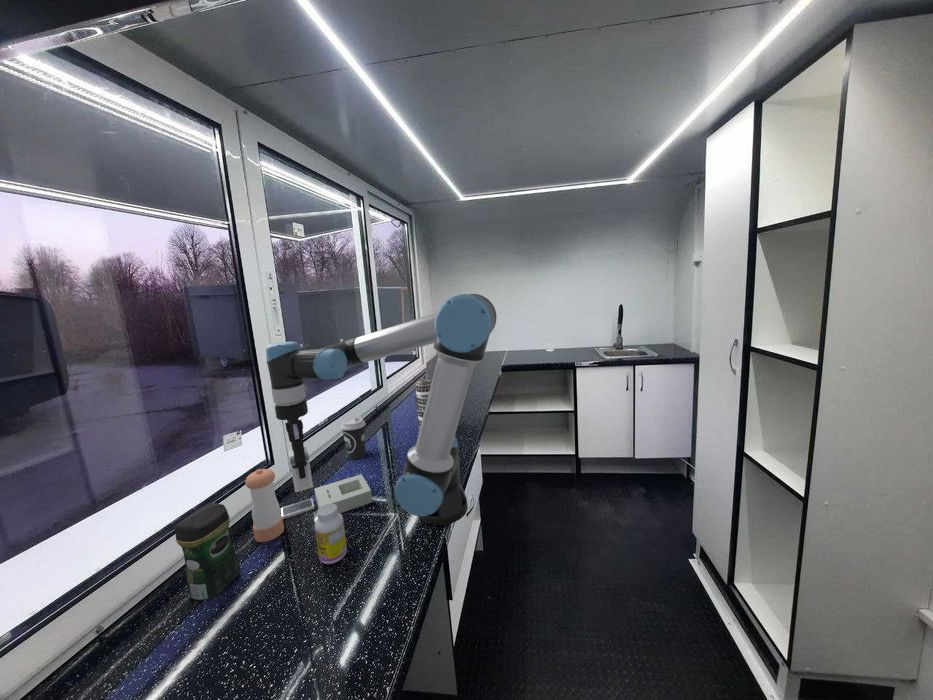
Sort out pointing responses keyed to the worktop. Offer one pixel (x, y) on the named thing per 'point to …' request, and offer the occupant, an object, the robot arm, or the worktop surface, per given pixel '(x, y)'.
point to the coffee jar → (207, 551)
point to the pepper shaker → (264, 506)
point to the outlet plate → (344, 494)
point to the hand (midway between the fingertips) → (303, 483)
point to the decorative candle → (422, 397)
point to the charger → (292, 462)
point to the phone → (297, 508)
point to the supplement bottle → (330, 534)
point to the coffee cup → (354, 437)
